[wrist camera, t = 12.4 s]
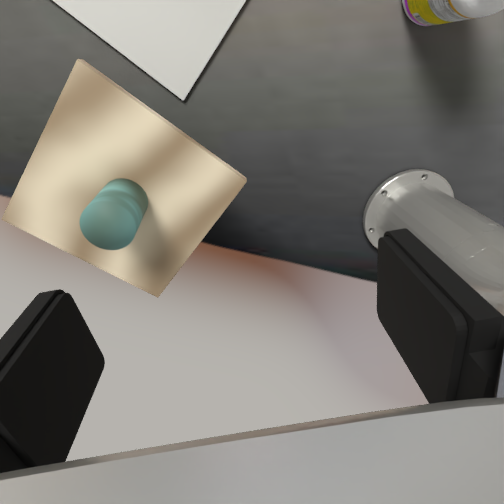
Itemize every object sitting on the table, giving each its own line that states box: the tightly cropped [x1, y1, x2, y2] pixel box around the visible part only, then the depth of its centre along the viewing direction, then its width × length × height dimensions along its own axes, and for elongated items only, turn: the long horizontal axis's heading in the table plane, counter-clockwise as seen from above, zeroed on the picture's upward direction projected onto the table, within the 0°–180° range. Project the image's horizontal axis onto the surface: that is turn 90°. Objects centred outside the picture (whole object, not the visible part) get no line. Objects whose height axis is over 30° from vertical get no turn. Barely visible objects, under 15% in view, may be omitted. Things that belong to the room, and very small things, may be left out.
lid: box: [2, 59, 247, 297], centre depth 25 cm, size 14×14×6 cm
